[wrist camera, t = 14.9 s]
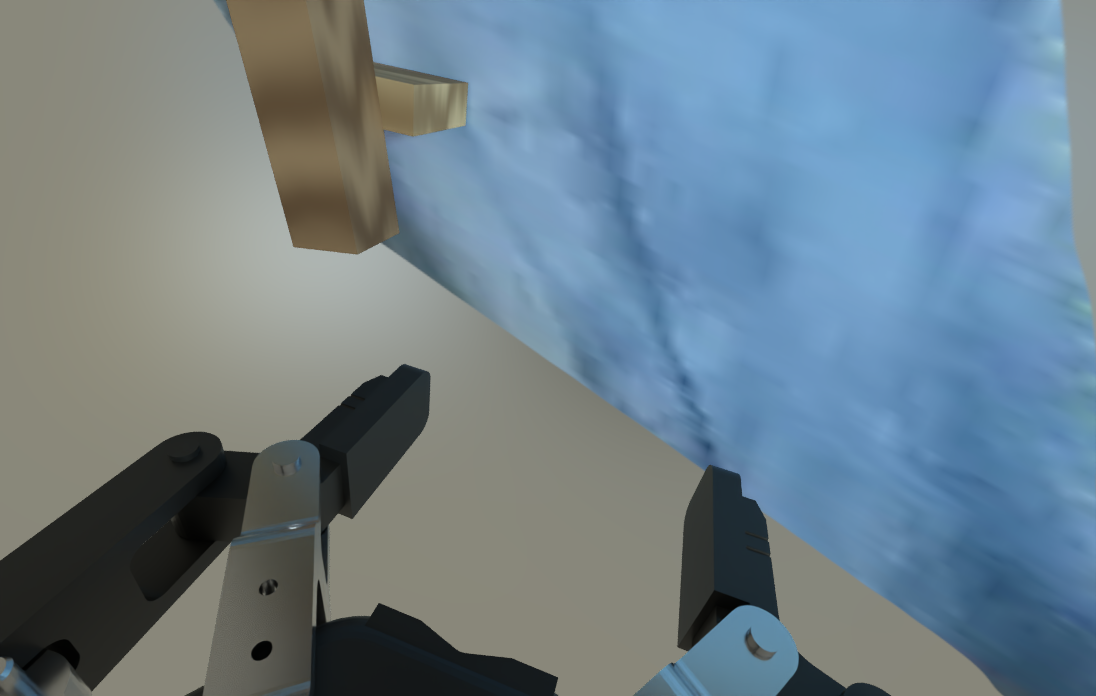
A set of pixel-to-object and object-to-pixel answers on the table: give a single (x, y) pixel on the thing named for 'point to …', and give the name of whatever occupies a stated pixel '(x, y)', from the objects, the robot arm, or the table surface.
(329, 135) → the batten
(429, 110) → the fulcrum
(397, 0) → the table surface
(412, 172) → the table surface
